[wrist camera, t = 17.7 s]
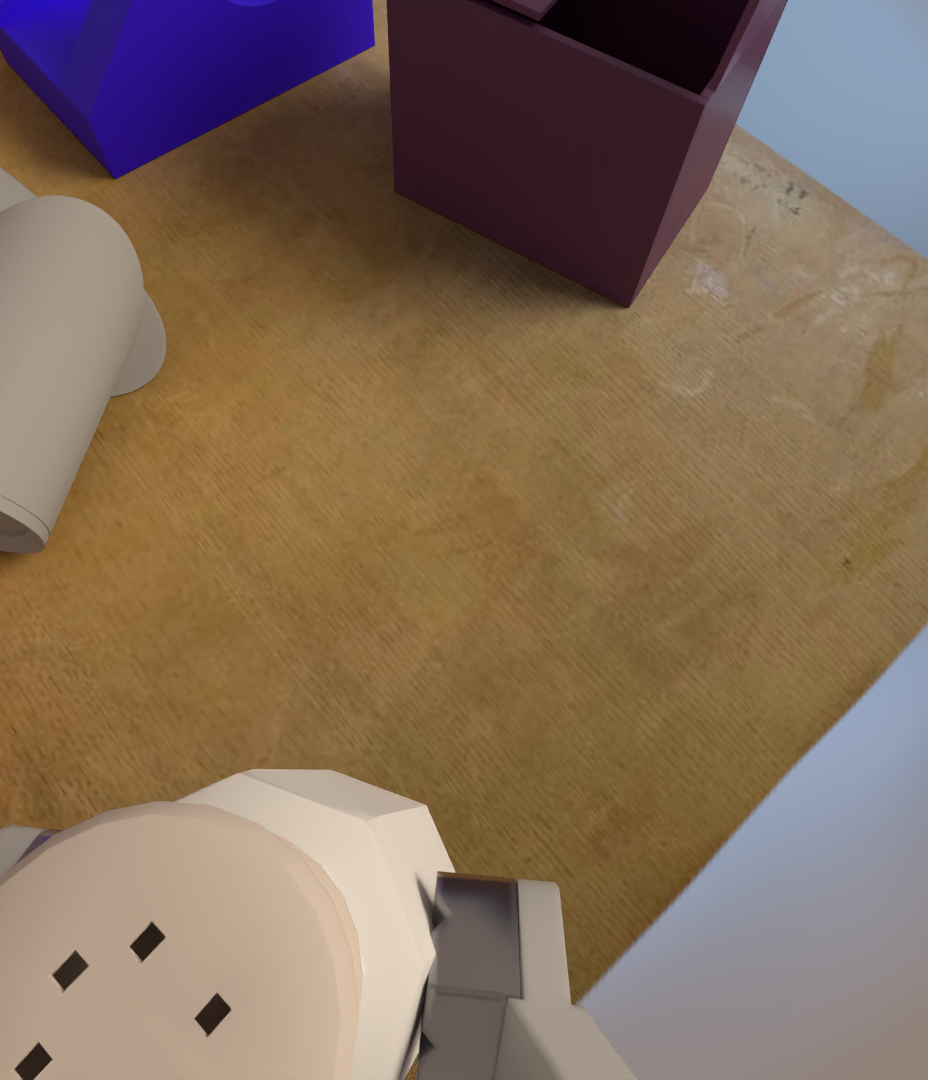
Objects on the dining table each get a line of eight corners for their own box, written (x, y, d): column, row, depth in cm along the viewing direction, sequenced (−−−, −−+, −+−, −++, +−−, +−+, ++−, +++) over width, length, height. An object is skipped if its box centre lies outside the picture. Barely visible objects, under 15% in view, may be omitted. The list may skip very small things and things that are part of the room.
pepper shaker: (130, 928, 15) (-553, 1088, 4) (333, 716, 16) (179, 481, 6) (329, 1157, 13) (16, 2120, 3) (525, 902, 15) (732, 994, 5)
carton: (708, 187, 50) (809, -50, 37) (628, 308, 46) (711, 88, 33) (488, 86, 53) (510, -169, 40) (394, 191, 49) (384, -55, 36)
